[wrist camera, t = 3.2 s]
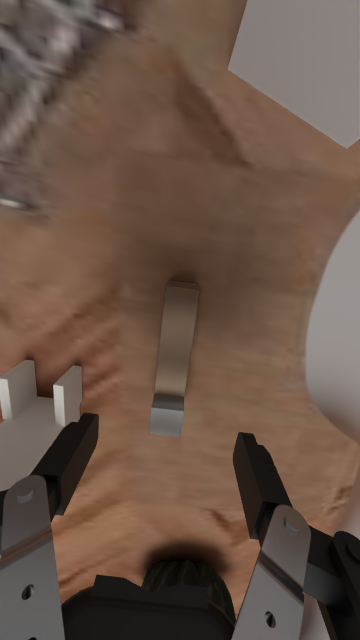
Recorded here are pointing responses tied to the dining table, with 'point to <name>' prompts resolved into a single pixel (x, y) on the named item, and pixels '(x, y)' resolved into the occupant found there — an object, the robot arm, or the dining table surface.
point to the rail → (174, 357)
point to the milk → (305, 60)
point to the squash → (190, 581)
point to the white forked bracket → (33, 418)
